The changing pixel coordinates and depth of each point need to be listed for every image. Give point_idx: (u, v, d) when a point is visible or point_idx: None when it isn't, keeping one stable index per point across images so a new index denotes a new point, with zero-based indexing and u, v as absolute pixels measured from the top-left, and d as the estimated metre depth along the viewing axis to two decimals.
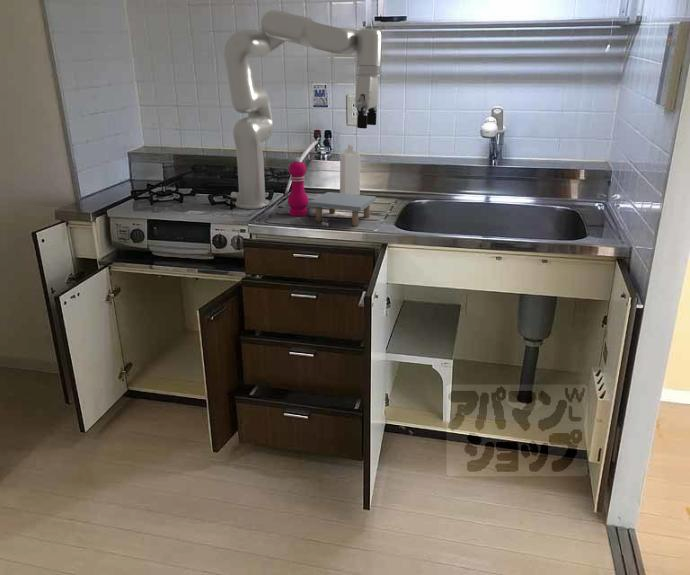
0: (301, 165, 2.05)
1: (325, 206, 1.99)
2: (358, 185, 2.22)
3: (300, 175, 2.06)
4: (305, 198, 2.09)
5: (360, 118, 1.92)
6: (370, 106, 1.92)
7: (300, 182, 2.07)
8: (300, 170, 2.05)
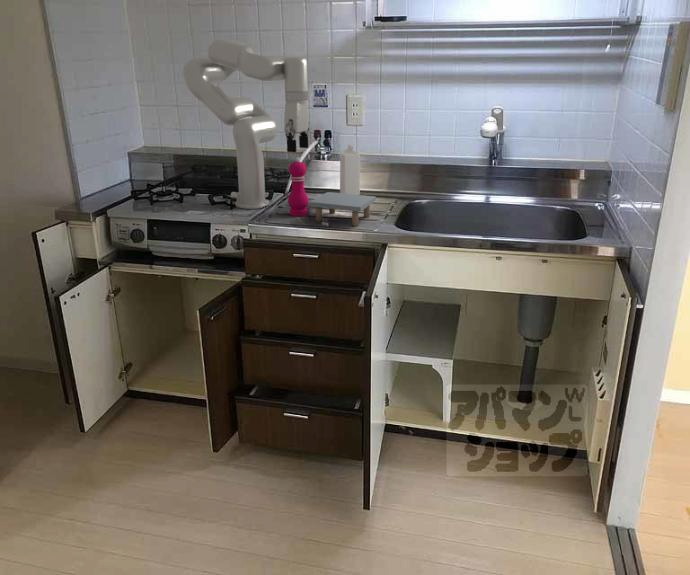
0: (301, 165, 2.05)
1: (325, 206, 1.99)
2: (358, 185, 2.22)
3: (300, 175, 2.06)
4: (305, 198, 2.09)
5: (289, 142, 1.98)
6: (299, 131, 1.99)
7: (300, 182, 2.07)
8: (300, 170, 2.05)
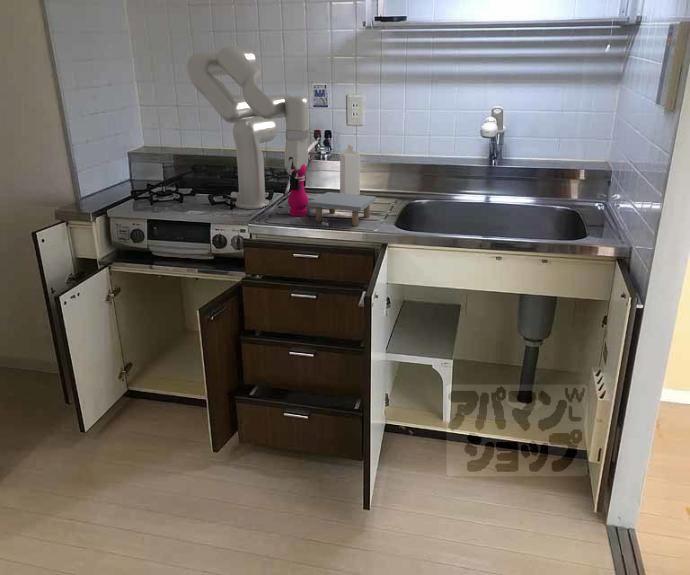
0: None
1: (325, 206, 1.99)
2: (358, 185, 2.22)
3: (300, 175, 2.06)
4: (305, 198, 2.09)
5: (292, 181, 2.05)
6: (299, 167, 2.03)
7: (300, 182, 2.07)
8: (300, 170, 2.05)
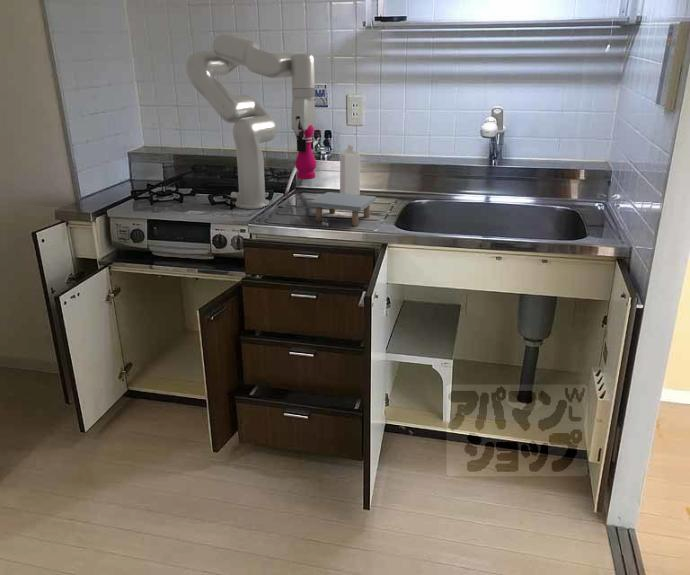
0: None
1: (325, 206, 1.99)
2: (358, 185, 2.22)
3: (307, 136, 2.00)
4: (313, 160, 2.03)
5: (299, 142, 1.99)
6: (306, 128, 1.97)
7: (307, 143, 2.01)
8: (307, 131, 1.99)
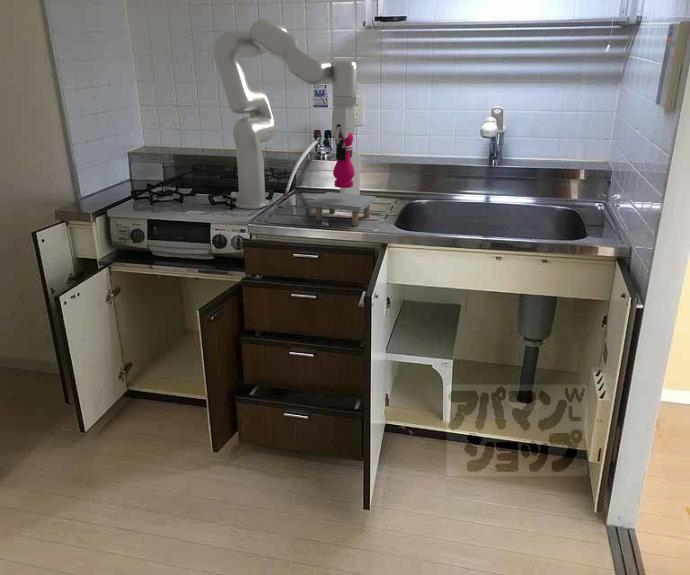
0: None
1: (325, 206, 1.99)
2: (358, 185, 2.22)
3: (347, 144, 1.96)
4: (352, 169, 1.99)
5: (339, 150, 1.95)
6: (346, 136, 1.94)
7: (347, 151, 1.97)
8: (347, 139, 1.95)
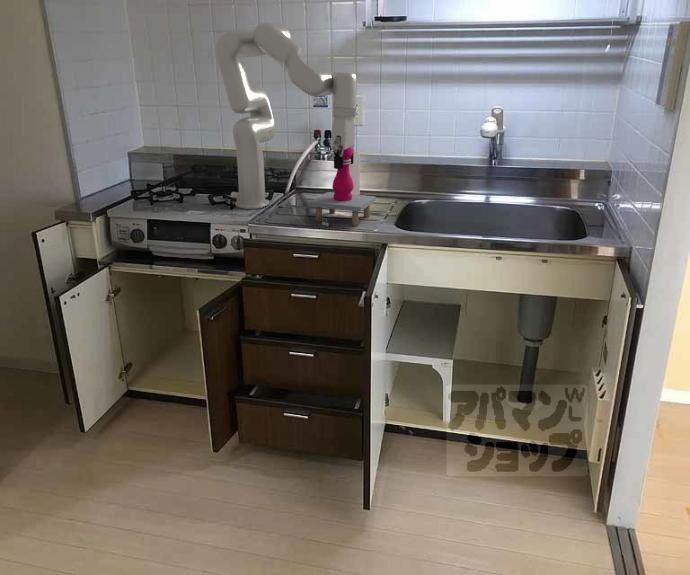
0: None
1: (325, 206, 1.99)
2: (358, 185, 2.22)
3: (346, 158, 1.98)
4: (351, 182, 2.01)
5: (336, 159, 1.95)
6: (346, 147, 1.95)
7: (346, 165, 1.99)
8: (347, 153, 1.97)
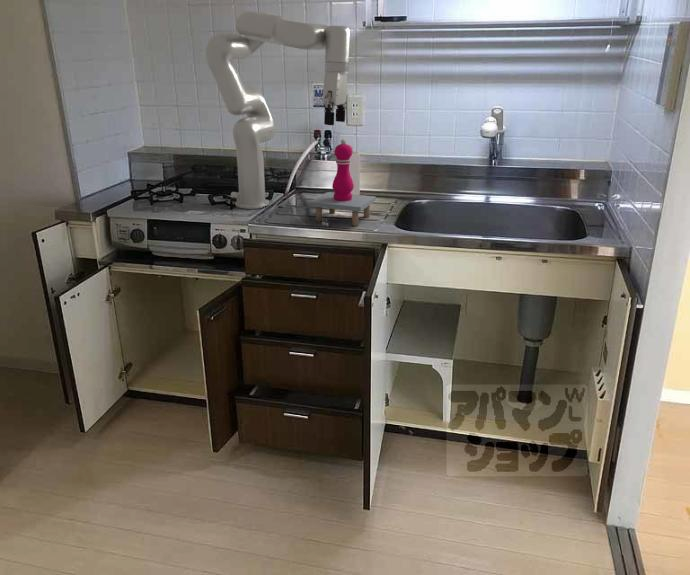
0: (348, 147, 1.97)
1: (325, 206, 1.99)
2: (358, 185, 2.22)
3: (346, 158, 1.98)
4: (351, 182, 2.01)
5: (327, 115, 1.92)
6: (338, 103, 1.92)
7: (346, 165, 1.99)
8: (347, 153, 1.97)
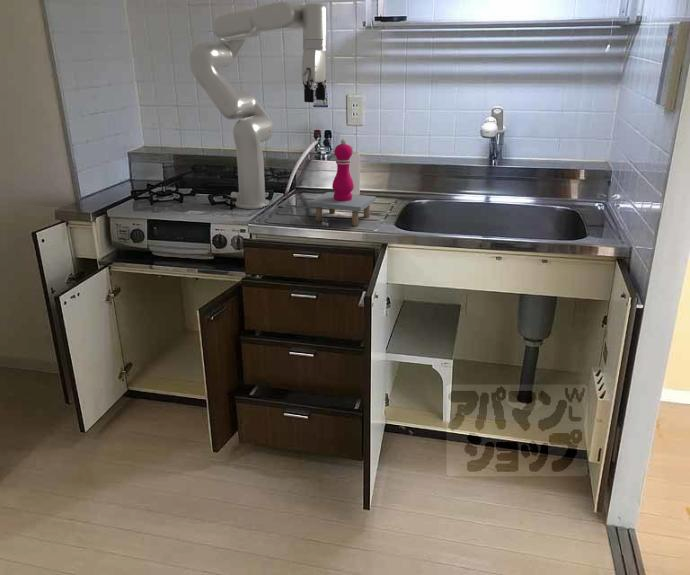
0: (348, 147, 1.97)
1: (325, 206, 1.99)
2: (358, 185, 2.22)
3: (346, 158, 1.98)
4: (351, 182, 2.01)
5: (307, 92, 1.94)
6: (317, 80, 1.95)
7: (346, 165, 1.99)
8: (347, 153, 1.97)
